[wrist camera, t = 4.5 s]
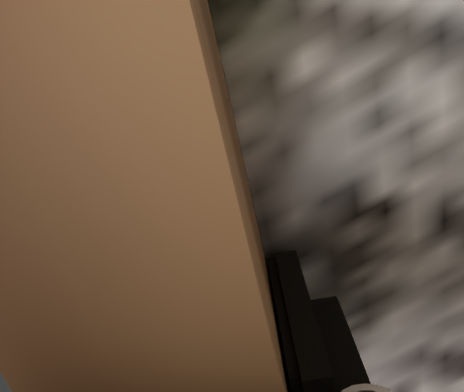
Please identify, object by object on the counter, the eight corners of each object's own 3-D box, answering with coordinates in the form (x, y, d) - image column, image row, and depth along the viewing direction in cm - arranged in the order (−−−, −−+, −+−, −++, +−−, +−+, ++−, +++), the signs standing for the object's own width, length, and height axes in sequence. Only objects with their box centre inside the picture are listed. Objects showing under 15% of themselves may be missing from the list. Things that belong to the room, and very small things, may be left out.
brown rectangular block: (197, -44, 8) (163, -108, 3) (313, 475, 14) (355, 691, 10) (21, 1, 8) (-235, -1, 4) (215, 490, 15) (211, 709, 10)
